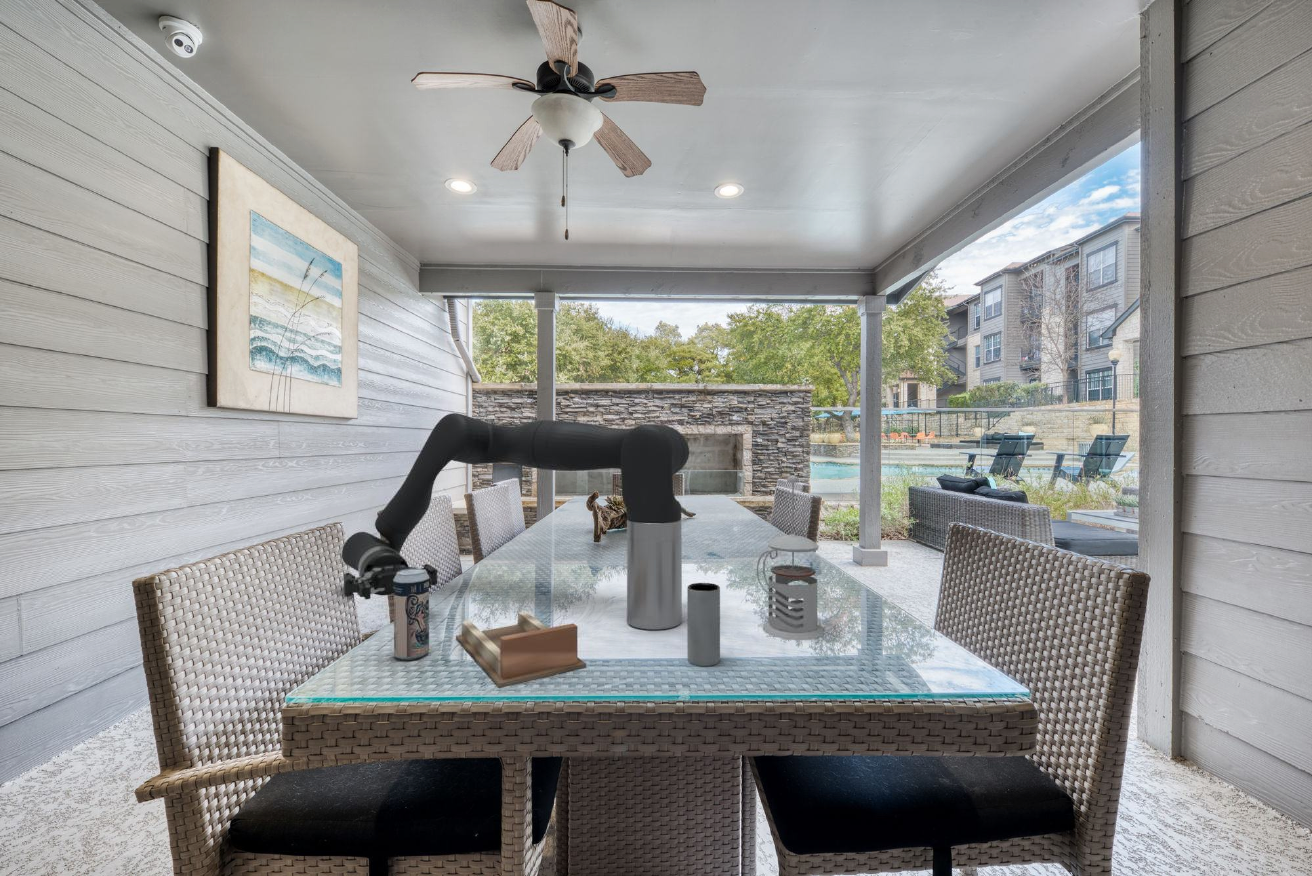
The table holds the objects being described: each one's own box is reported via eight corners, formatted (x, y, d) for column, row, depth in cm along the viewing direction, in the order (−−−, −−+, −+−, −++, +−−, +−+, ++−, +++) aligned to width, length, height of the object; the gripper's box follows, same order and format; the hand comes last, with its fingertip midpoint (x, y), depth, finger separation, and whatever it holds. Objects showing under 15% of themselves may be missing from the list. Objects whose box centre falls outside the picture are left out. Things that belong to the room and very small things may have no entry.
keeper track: (455, 638, 91) (455, 603, 91) (530, 625, 97) (530, 592, 97) (498, 687, 73) (498, 643, 73) (586, 667, 80) (586, 626, 80)
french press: (800, 644, 88) (800, 478, 88) (741, 626, 97) (741, 474, 97) (836, 630, 95) (836, 475, 95) (777, 614, 103) (777, 472, 103)
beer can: (416, 662, 81) (416, 576, 81) (385, 660, 82) (385, 574, 82) (436, 650, 86) (436, 568, 86) (407, 648, 87) (406, 567, 87)
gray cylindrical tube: (723, 656, 83) (723, 584, 83) (715, 668, 79) (715, 592, 79) (692, 652, 85) (692, 581, 85) (683, 664, 81) (683, 589, 81)
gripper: (338, 553, 103) (347, 570, 89) (423, 544, 111) (444, 560, 97) (338, 595, 103) (347, 620, 89) (423, 584, 111) (444, 605, 97)
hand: (397, 588), depth 93 cm, fingers open, 8 cm apart
